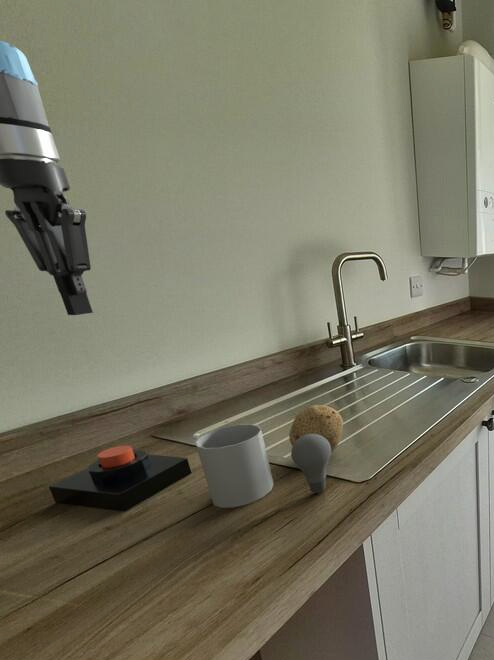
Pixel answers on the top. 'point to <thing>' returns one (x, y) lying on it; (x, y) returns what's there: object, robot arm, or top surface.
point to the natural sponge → (318, 424)
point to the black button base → (121, 482)
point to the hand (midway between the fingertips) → (80, 313)
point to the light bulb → (312, 459)
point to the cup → (235, 465)
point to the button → (116, 456)
